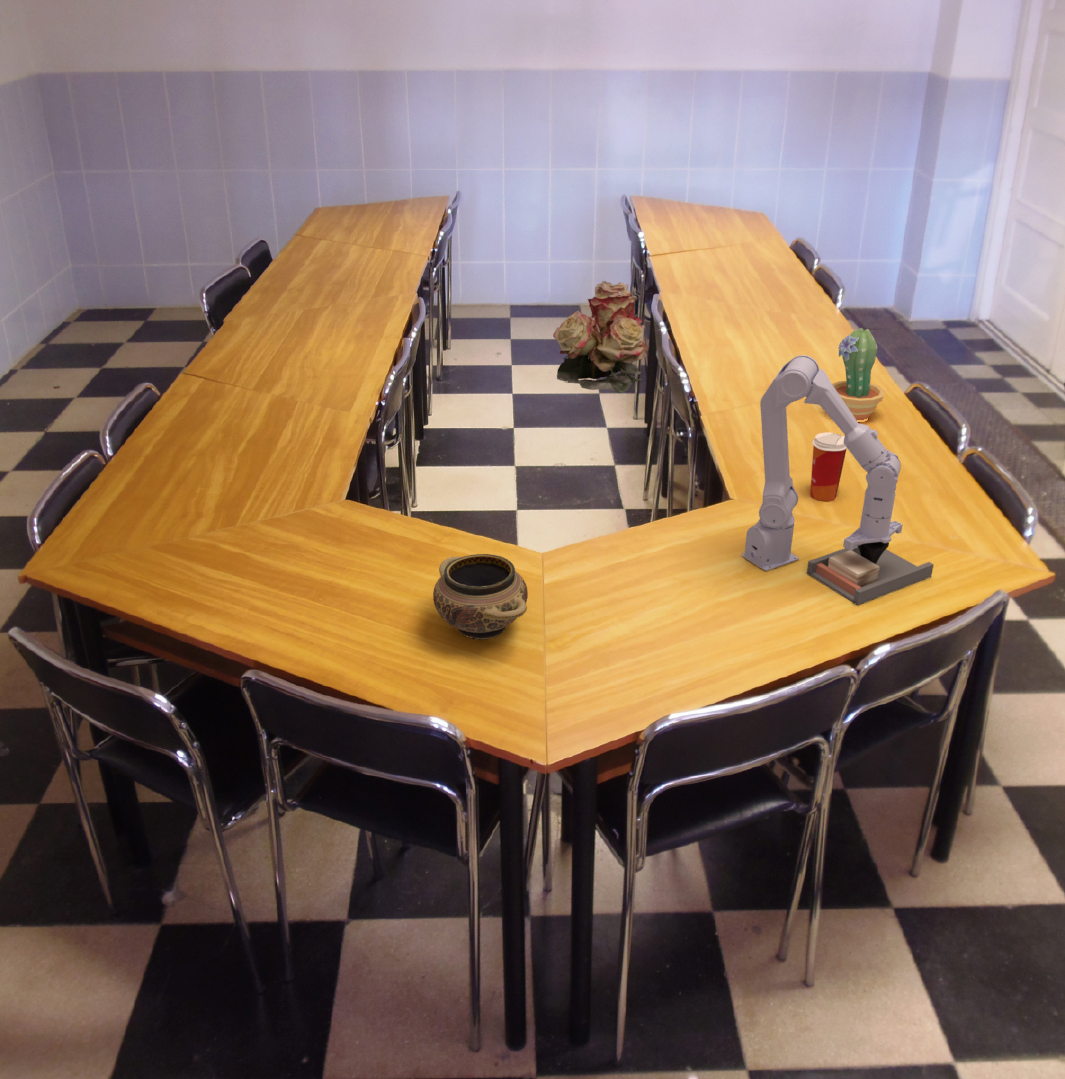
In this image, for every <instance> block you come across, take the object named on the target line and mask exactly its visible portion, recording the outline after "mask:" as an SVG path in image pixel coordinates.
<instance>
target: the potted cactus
mask: <svg viewBox="0 0 1065 1079" xmlns="http://www.w3.org/2000/svg"><path fill="white" fill-rule="evenodd" d="M878 348H879V347H878V345H877V341H876V339H875V338H874V335H873V334H872V333H871V331H870V329H869V328H867V329H864V328H862V327H860V328H859V329H854V330H853V331H852V332H851V333H850V334H848V335H847V336H846V337H844V338H842V339H841V341H840V342H839V344H838V357H839V358H840V357H841V356H842V357H841V358H842V361H843V364H844V368H845V380H841V381H837V382H833V383H832V385H833V386H834V388H835V389H836V391H837V392H838V394H839V395H840V397H841V398H842V400H843V401H844V403H845V404H846V406H847V407H848V408H849V410H850V411H851V413H852V414H853V416H854V417H855V419H856V420H864V419H867V418H868V416H869V417H870V416H871V414H873V413H874V411H875V410H876V408H877V406H878V405H879V403H880V402H882V401H883V398H884V397H885V395H886V390H885V389H883V388H882V387H881V386H880V385H877V384H874V383H871V379H872V378H871V376H872V369H873V367H874V364H875V362H876V358H877V353H878V350H879V349H878Z"/></svg>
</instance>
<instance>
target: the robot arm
mask: <svg viewBox="0 0 1065 1079" xmlns="http://www.w3.org/2000/svg"><path fill="white" fill-rule="evenodd" d="M819 366H820V365H819V363H818V362H817V361H816V360H815V359H814V358H813V357H811V356H809V355H805V354H801V355H797V356H795V357H793V358H792V359H790V360H789V361H788V362H787V363H785V364H784V365H782V367H781V369H780V370H779V371H778V373H777V374H776V376H775V377H774V379H773V380H772V382H771V383H770V384H769V386H768V388H767V389H766V391H764V394H763V395H762V396H761V398H760V403H759V405H760V420H761V421H760V422H761V436H762V437H761V439H762V450H763V452H762V453H763V454H762V455H763V465H764V485H763V486H764V487H763V490H762V504H761V505H760V507H759V511H758V517H759V520H758V521H757V522H756V523H755V524H753V525H752V526H751V527H749V528H747V531H746V535H745V536H746V537H745V546H744V552H743V553H741V557H743V558H745V559H746V560H747V561H749V562H750V563H752V564H754V566H757V567H758V568H760V569H761V570H763V571H765V572H767V571H771V570H773V569H776V568H779V567H782V566H785V565H788V564H791V563H793V562H796V561H799V559H800V558H799V557H798V556H797V555H796V554H794V553H792V543H793V537H794V528H795V516H794V514H793V511H794V509H795V507H796V506H797V504H798V503H799V502H798V501H799V495H798V492H797V491H796V489H795V487H794V483H793V482H794V481H793V478H792V476H791V475H790V472H791V471H790V454H789V436H788V433H789V432H788V417H787V416H788V414H787V407H789V405H791V404H792V403H795V402H798V401H800V400H802V399H804V398H805V399H804V401H803V403H805V404H810V405H818V406H820V407H821V408H822V409H823V411H824V412H825V413H826V415H827V416H829V418H830V419H831V420H832V421H833V423H835V425H836V426H837V428H839V430H840V431H841V432H842V433H843V435H844V436H845V437H844V445H845V446H846V447H847V449H848V451H849V453H850V454H851V456H852V457H853V458H854V460H856V462H857V463H858V464H859V466H860V467H861V468H862V469H863V470H864V471H865V472H866V473H867V474H866V475H865V480H866V483H867V487H866V489H865V493H864V498H863V506H862V511H861V516H860V517H861V518H860V523H859V527H858V528H857V529H856V530H854V531H853V532H852V533H851V534H850V535H849V536H847V537H845V538H844V539H843V546H842V547H843V548H846V549H848V550H850V551H851V550H853V549H854V547H856V546H858V548H859V551H860V554H861V556H862V557H864V558H866V559H867V560H869V561H871V562H873V563H874V564H876V563H877V561H878V559H879V558H880V556H881V555H882V553H883V552H884V551H885V550H886V549H887V550H888V548H890V546H889V545H890V543H891V541H892V535H894V534H895V533H896V534H902V530H903V524H902V523H901V522H899V521H897V520H893V521H892V517H893V516H892V515H893V510H894V504H895V500H896V499H895V498H896V490H897V484H898V481H899V480H898V478H899V476H900V472H901V469H902V467H901V466H902V465H901V460H900V458H899V456H898V455H897V454H896V453H894V452H892V451H891V450H890V449H887V448H886V446H884V444H883V443H882V442H881V441H880V439H879V438H878V435H879V432H878V430H876V429H871V427H870V426H869V425H867V424H864V423H858V422H857V420H856V419H855V417H854V416H853V414H852V413H851V411H850V410H849V408H848V407H847V406H846V404H845V403H844V401H843V400H842V398H841V397H840V395H839V394H838V392H837V391H836V389H835V388H834V386H833V385H832V384H833V383H832V382H831V380H830V378H829V376H828V374H827V373H826V371H825V370H824V369H823V368H820V367H819Z"/></svg>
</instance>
